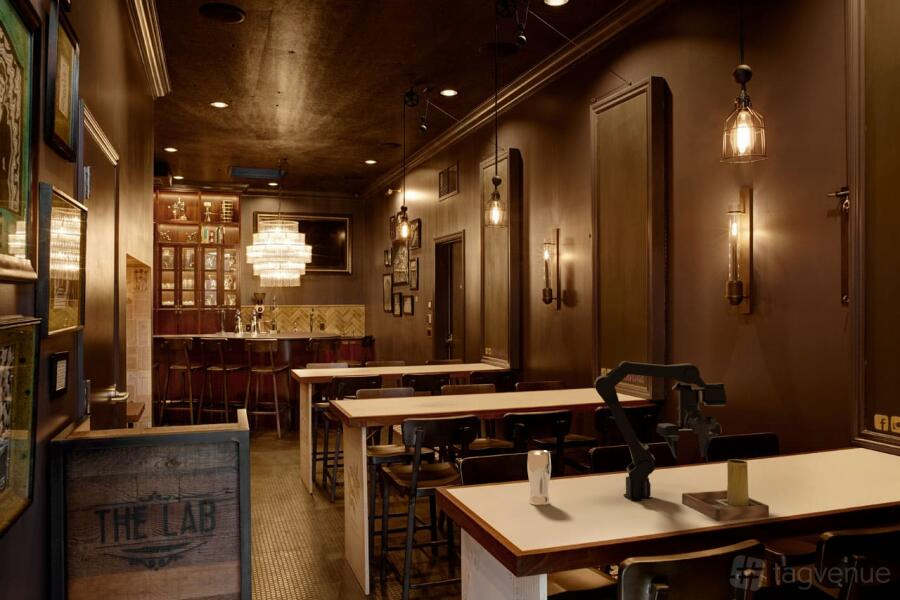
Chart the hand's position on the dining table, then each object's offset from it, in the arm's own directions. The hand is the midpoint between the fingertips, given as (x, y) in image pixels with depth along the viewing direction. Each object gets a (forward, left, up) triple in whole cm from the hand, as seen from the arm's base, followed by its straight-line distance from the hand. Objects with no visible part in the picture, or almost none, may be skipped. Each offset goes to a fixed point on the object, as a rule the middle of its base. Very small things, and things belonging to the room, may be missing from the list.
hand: (689, 457), depth 203 cm
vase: (+5, -15, -13) cm, 21 cm away
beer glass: (-45, +8, -13) cm, 48 cm away
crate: (+3, -12, -13) cm, 18 cm away
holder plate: (+5, -15, -12) cm, 21 cm away
